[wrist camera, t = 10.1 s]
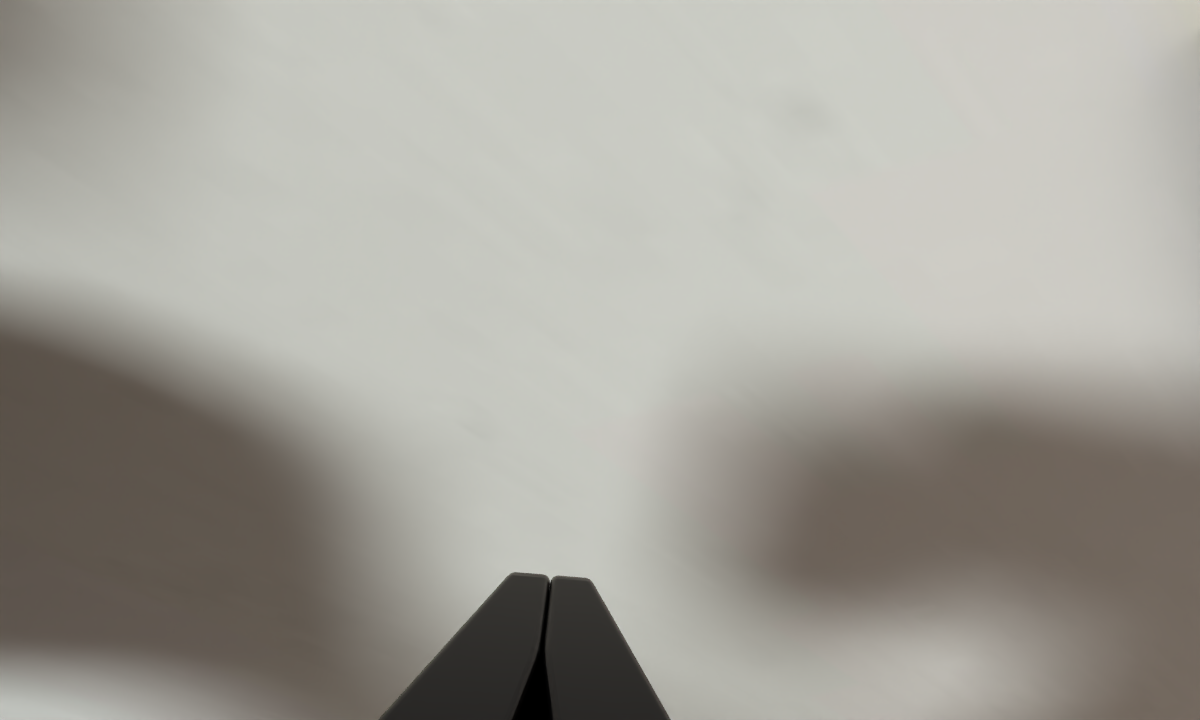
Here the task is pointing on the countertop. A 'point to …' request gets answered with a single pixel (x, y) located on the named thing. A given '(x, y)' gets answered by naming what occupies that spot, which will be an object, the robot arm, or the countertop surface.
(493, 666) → the robot arm
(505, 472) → the countertop surface
